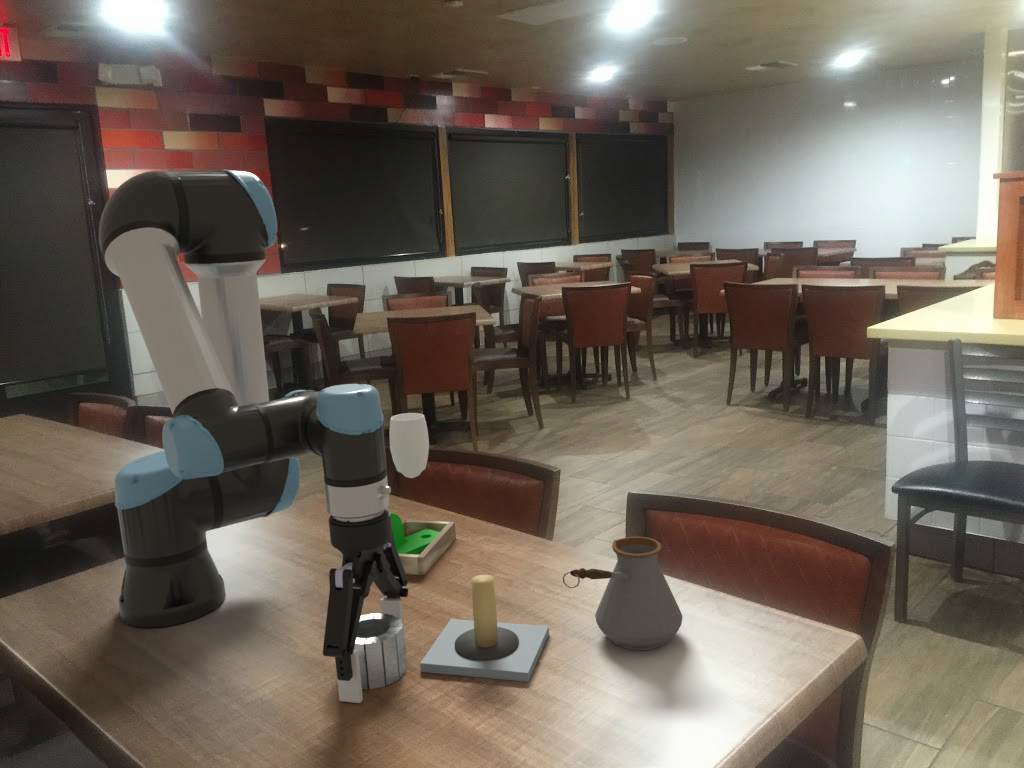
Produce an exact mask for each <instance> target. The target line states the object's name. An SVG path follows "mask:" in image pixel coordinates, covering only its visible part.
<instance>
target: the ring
mask: <svg viewBox="0 0 1024 768" xmlns="http://www.w3.org/2000/svg"><path fill="white" fill-rule="evenodd" d="M354 649H357V650H358V655H359V665H360V675H361V685H362V690H367V691H368V690H373V689H374V690H375V689H380V688H385V687H386V686H387V687H388V686H390V685H392V684H393V683H396V682H397V681H399V680H400V679H401V678H402V677H403V675H405V672H406V671H407V665H406V652H405V651H406V650H405V645H404V637H403V626H402V623H401V620H400V619H399V618H397V617H395V616H393V615H389V614H382V613H379V612H375V613H374V612H373V613H372V612H371V613H369V614H368V613H367V614H361V617H360V621H359V626H358V631H357V636H356V641H355V646H354Z"/></svg>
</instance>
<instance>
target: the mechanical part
mask: <svg viewBox="0 0 1024 768" xmlns="http://www.w3.org/2000/svg"><path fill="white" fill-rule="evenodd" d="M391 523H392V531H393V534H394V541H395V546H396V549H397V551H398V554H415V555H420V554H421V553H422V551H423V550H424V549H425V548H426V547H427V546H428V545H429V544H430V543H431V542H432V540H433V539H434V538H435V537H436V536H437V535H438V534H439V533H440V532H437V531H434V530H431V529H424V530H422V531H419V532H417V533H414V534H412V535H409V536H407V537H404V532H403V525H402V519H401V517H400V516H399V515H397V514H396V513H393V512H391Z"/></svg>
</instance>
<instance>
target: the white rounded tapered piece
mask: <svg viewBox="0 0 1024 768" xmlns="http://www.w3.org/2000/svg"><path fill="white" fill-rule="evenodd" d="M388 434H389V450H390V453H391V457H392V461H393V463H394V466H395V469H396V471H397V472H398V473H401V474H402V475H403V476H404V477H405V478H408V479H414V478H416V477H419V476H420V475H421V473H422V472H423V471H424V470H426V467H427V464H428V458H429V450H430V440H429V430H428V425H427V421H426V417H425V414H423V413H419V412H406V413H400V414H399V413H398V414H396V415H392V416H391V417H390V421H389V433H388Z"/></svg>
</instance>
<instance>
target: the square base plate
mask: <svg viewBox="0 0 1024 768" xmlns="http://www.w3.org/2000/svg"><path fill="white" fill-rule="evenodd" d="M470 584H471V600H472V612H473V613H472V614H473V615H472V616H473V620H470V619H458V618H450V619H449V621H448V622H447V624H446V626H444V628H443V629H442V631H441V632H440V634H439V635H438V637H437V638H436V639H435V641H434V643H433V644H432V645H431V647H430V648H429V649H428V651H427V653H426V654H425V656H424V657H423V659H422V660H421V661H420V663H419V666H420V667H419V668H420V673H429V674H430V673H431V674H441V675H451V676H463V677H470V678H471V677H473V678H481V679H492V680H493V679H495V680H503V681H514V682H515V681H517V682H523V683H524V682H525V683H528V682H530V679H531V677H532V675H533V672H534V670H535V668H536V665H537V663H538V661H539V658H540V656H541V654H542V653H543V650H544V647H545V645H546V643H547V640H548V639H549V638H548V637H549V636H550V626H549V625H548V626H547V625H537V624H525V623H510V622H509V623H508V622H499V621H498V619H497V617H498V615H497V603H496V602H497V601H496V587H495V585H496V582H495V577H494V576H492V575H489V574H480V575H479V574H478V575H475V576H474V577H472V578H471V580H470Z"/></svg>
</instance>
